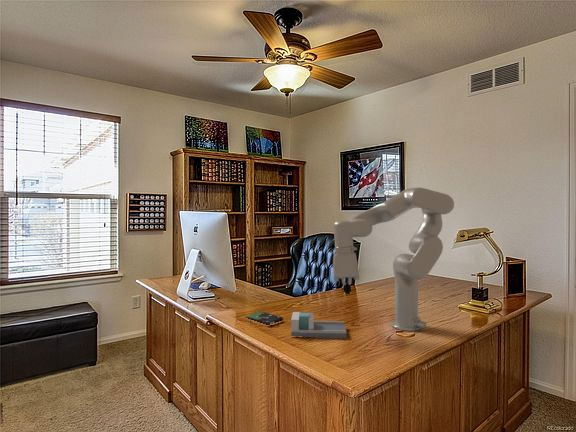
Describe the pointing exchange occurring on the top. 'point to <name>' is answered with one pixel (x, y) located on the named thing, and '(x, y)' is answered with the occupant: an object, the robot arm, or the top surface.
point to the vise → (319, 328)
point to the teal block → (303, 321)
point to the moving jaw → (311, 321)
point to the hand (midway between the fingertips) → (347, 293)
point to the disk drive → (265, 318)
